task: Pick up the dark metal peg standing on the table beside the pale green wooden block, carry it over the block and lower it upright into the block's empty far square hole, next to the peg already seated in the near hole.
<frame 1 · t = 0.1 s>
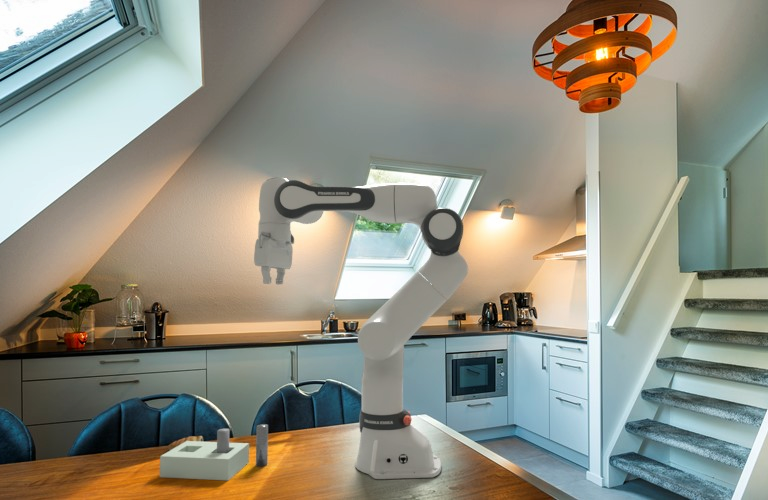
hand: (273, 284, 130), 48 cm above the table, tool pointing down, fingers open, 8 cm apart
peg: (261, 464, 123), on the table
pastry: (188, 451, 135), on the table
hole block: (205, 469, 120), on the table
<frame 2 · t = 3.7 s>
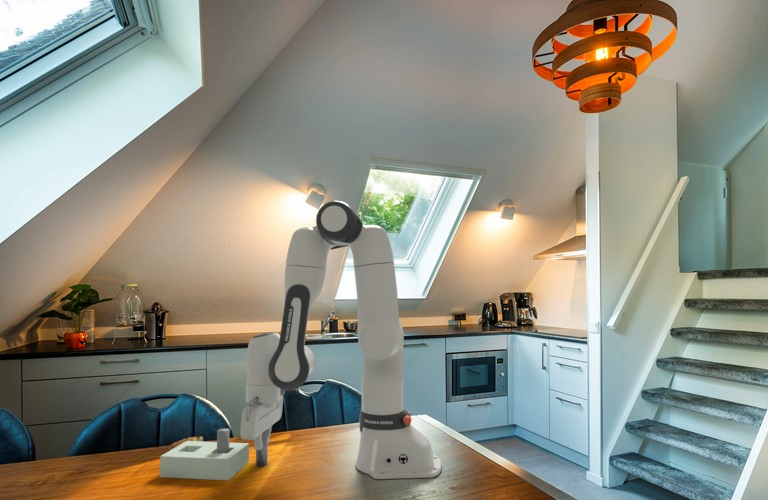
hand: (262, 446, 123), 5 cm above the table, tool pointing down, fingers closed on peg, 3 cm apart
peg: (261, 464, 123), on the table, touching gripper
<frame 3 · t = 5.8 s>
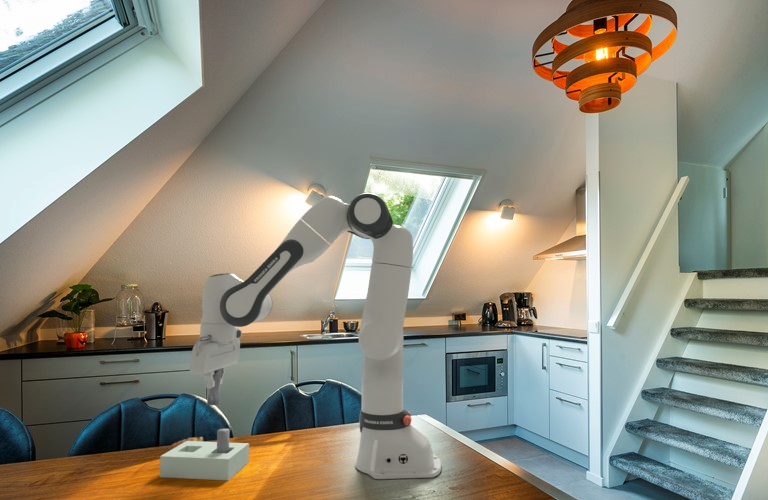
hand: (214, 386, 123), 21 cm above the table, tool pointing down, fingers closed on peg, 3 cm apart
peg: (213, 403, 123), point 16 cm above the table, touching gripper
when the fingers open (7 cm above the table, at t = 8.3 s): peg drops 3 cm, resting in hole block.
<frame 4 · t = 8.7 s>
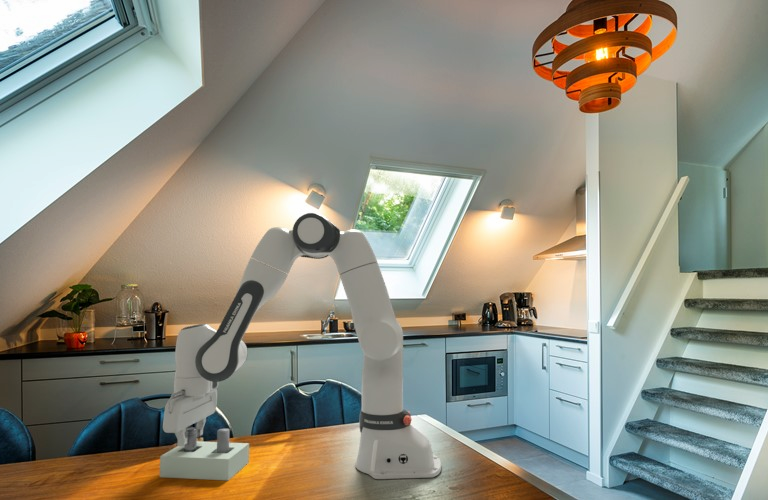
hand: (190, 440, 121), 7 cm above the table, tool pointing down, fingers open, 6 cm apart
peg: (189, 468, 120), resting in hole block
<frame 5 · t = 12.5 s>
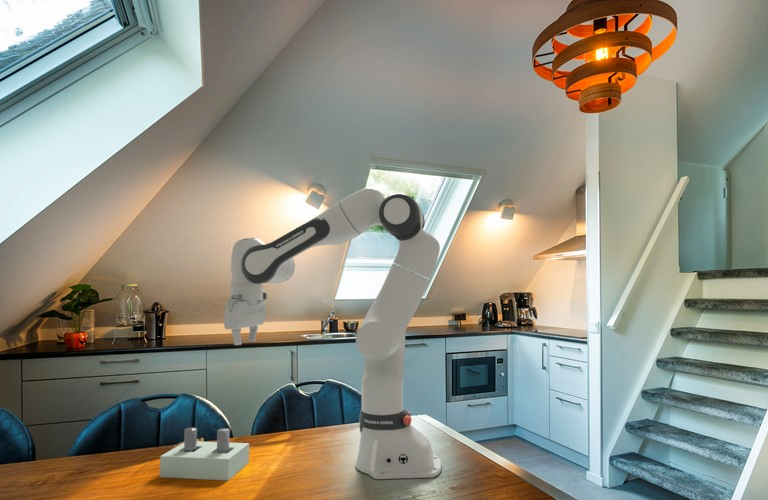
hand: (244, 343, 133), 31 cm above the table, tool pointing down, fingers open, 8 cm apart
at the end: peg 0.0 cm from the target spot on the hole block, point 0.0 cm above the hole block's base; peg tilted 0°; the gripper is holding nothing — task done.
